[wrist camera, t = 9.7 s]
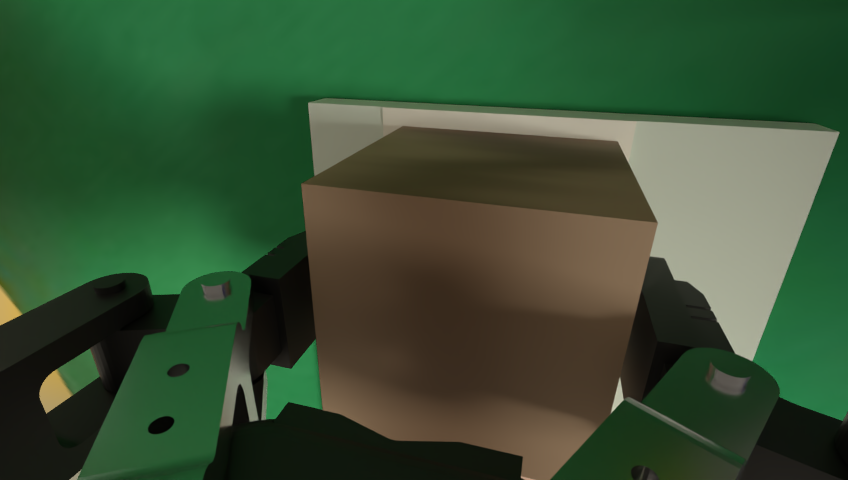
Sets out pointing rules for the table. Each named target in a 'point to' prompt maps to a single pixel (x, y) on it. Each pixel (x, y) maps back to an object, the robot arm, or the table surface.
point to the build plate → (656, 186)
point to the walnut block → (477, 287)
